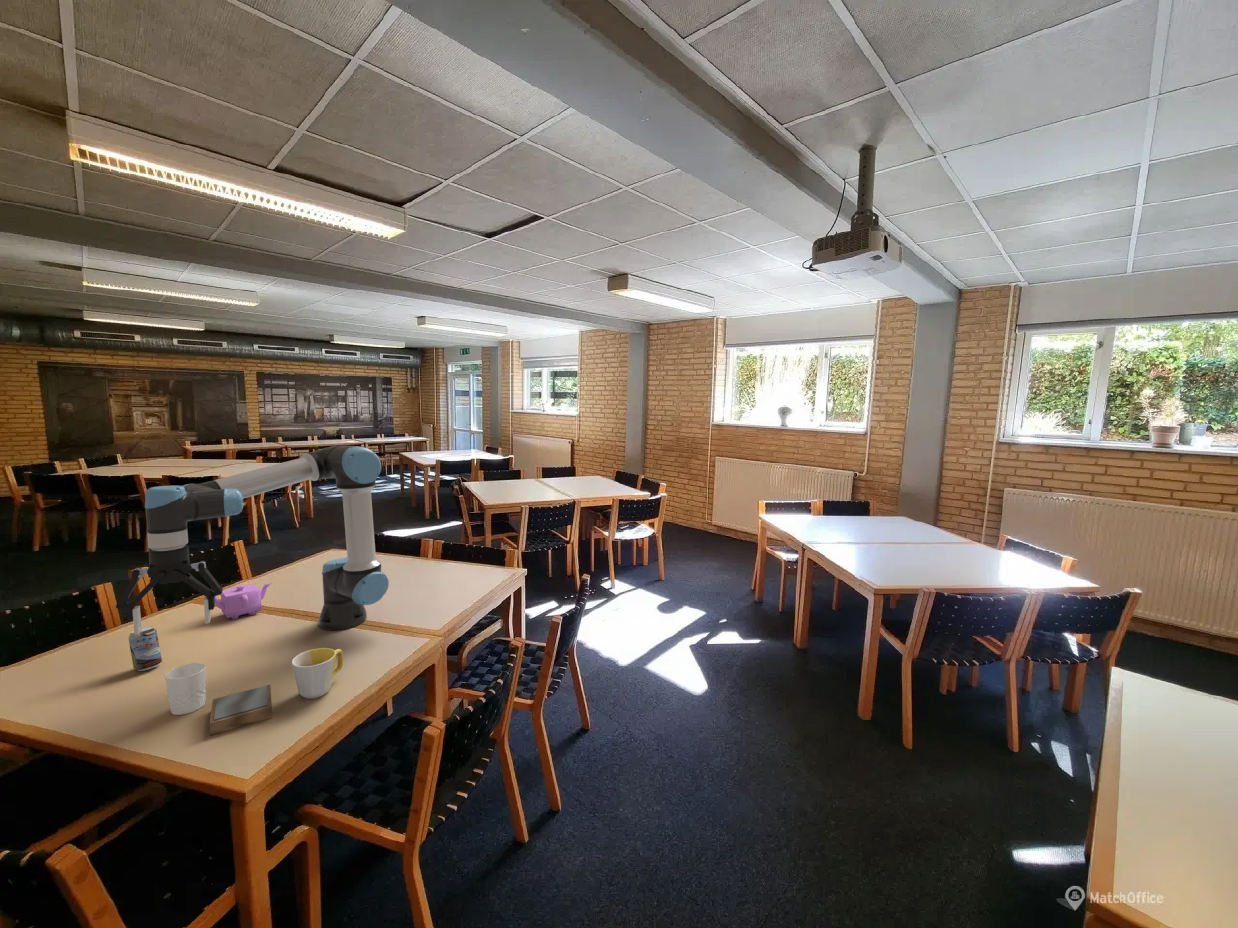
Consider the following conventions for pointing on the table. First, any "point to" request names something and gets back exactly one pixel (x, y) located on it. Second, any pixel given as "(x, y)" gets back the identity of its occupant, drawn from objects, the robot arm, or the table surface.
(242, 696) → the walnut picture frame
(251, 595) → the teapot
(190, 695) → the white cup
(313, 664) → the mug
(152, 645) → the beverage can
